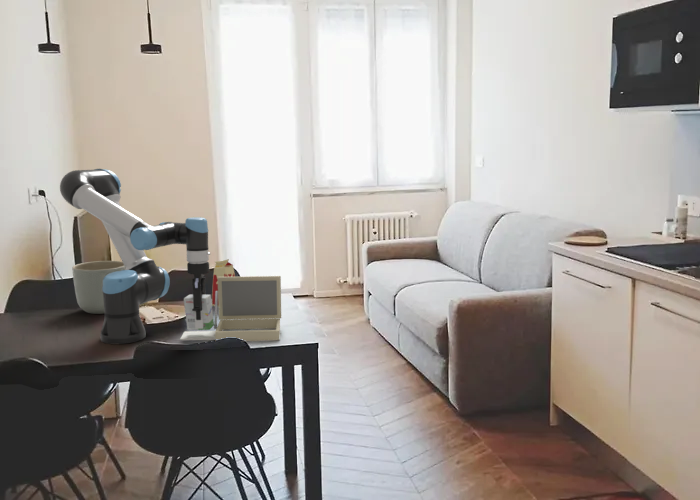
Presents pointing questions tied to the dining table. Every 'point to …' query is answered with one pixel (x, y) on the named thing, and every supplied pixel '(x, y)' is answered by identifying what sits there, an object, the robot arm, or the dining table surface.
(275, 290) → the case
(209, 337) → the pad
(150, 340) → the dining table surface
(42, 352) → the dining table surface
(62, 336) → the dining table surface
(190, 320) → the ink box
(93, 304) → the planter
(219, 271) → the milk carton
